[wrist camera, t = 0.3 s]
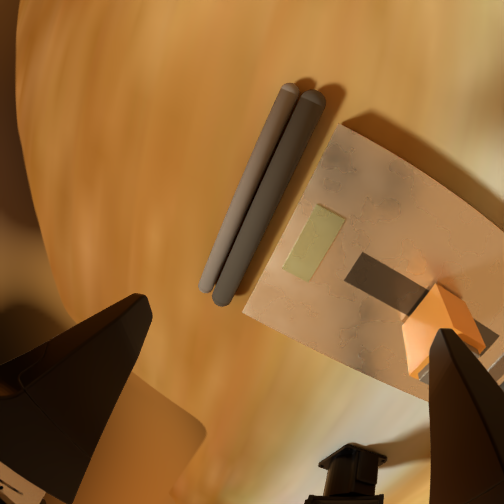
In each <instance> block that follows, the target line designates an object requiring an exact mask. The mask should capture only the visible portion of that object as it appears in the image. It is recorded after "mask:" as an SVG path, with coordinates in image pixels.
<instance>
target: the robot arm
mask: <svg viewBox="0 0 504 504" xmlns="http://www.w3.org/2000/svg"><path fill="white" fill-rule="evenodd" d="M152 317H153V316H152V311H151V308H150V305H149V301H148V298H147V297H146V295H143V294H138V293H134V294H132V295H130V296H128V297H126V298H124V299H123V300H121V301H119V302H117V303H115V304H113V305H112V306H110V307H108V308H106V309H104V310H102V311H101V312H99V313H97V314H95V315H93V316H92V317H90V318H88V319H86V320H84V321H83V322H81V323H79V324H77V325H75V326H74V327H72V328H70V329H68V330H66V331H65V332H63V333H61V334H59V335H57V336H56V337H54V338H52V339H50V340H49V341H47V342H45V343H43V344H42V345H40V346H38V347H36V348H34V349H33V350H31V351H29V352H27V353H25V354H23V355H20V356H19V357H16V358H14V359H12V360H10V361H8V362H6V363H4V364H2V365H0V504H46V502H45V499H43V496H44V494H45V493H46V492H47V493H48V494H50V495H52V496H54V497H55V498H57V499H59V500H61V501H62V502H64V503H66V504H72V503H73V501H74V498H75V496H76V493H77V491H78V488H79V486H80V484H81V481H82V479H83V476H84V474H85V472H86V469H87V467H88V465H89V462H90V460H91V457H92V455H93V453H94V451H95V448H96V446H97V444H98V442H99V439H100V437H101V435H102V433H103V430H104V428H105V426H106V424H107V422H108V419H109V417H110V415H111V413H112V411H113V409H114V407H115V404H116V402H117V400H118V398H119V396H120V394H121V392H122V390H123V388H124V385H125V383H126V381H127V379H128V377H129V375H130V373H131V371H132V369H133V367H134V365H135V363H136V361H137V358H138V356H139V354H140V351H141V348H142V346H143V343H144V340H145V338H146V335H147V332H148V330H149V327H150V324H151V322H152ZM429 415H430V438H431V479H430V501H429V504H504V391H503V390H502V389H501V387H500V386H499V385H498V383H497V382H496V381H495V380H494V378H493V377H492V376H491V374H490V373H489V372H488V371H487V369H486V368H485V367H484V366H483V365H482V363H481V362H480V361H479V360H478V358H477V357H476V356H475V355H474V354H473V352H472V351H471V350H470V349H469V348H468V346H467V345H466V344H465V343H464V342H463V341H462V339H461V338H460V337H459V336H458V335H457V334H456V333H455V331H454V330H453V329H451V328H440V329H439V330H438V331H437V333H436V335H435V338H434V340H433V342H432V344H431V347H430V350H429ZM386 461H387V457H385V456H382V455H378V454H375V453H372V452H369V451H366V450H363V449H360V448H357V447H354V446H351V445H345V446H343V447H342V448H340V449H339V450H338V451H336V452H335V453H333V454H332V455H330V456H329V457H327V458H326V459H324V460H323V461H321V462H319V465H318V466H319V467H320V468H323V469H326V470H328V473H327V478H326V483H325V488H324V493H323V496H314V495H309V497H308V499H307V500H305V503H304V504H383V500H384V494H379V495H375V485H376V484H377V476H378V466H380V465H382V464H383V463H385V462H386Z"/></svg>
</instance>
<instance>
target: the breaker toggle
mask: <svg viewBox="0 0 504 504" xmlns="http://www.w3.org/2000/svg"><path fill="white" fill-rule="evenodd" d="M440 328H451V329H453V330H454V331H455V333H456V334H457V335H458V336H459V337H460V338H461V339H462V341H463V342H464V343H465V344H466V345H467V346H468V348H469V349H470V350H471V351H472V352H473V354H474V355H475V356H476V357H477V358H479V357H480V353H481V352H482V351H483V350H484V349H485V347H486V346H485V343H484V341H483V339H482V337H481V334H480V332H479V330H478V328H477V326H476V323H475V321H474V319H473V317H472V315H471V313H470V311H469V309H468V307H467V305H466V303H465V302H464V301H463V300H461V299H460V298H458V297H457V296H455V295H454V294H452V293H451V292H449V291H447V290H446V289H444V288H443V287H441V286H440V285H438V284H436V283H435V284H434V286H433V287H432V288H431V290H430V291H429V292H428V294H427V295H426V296H425V298H424V299H423V300H422V302H421V303H420V304H419V305H418V307H417V308H416V309H415V310H414V312H413V313H412V314H411V315H410V317H409V318H408V319H407V320H406V322H405V323H404V324H403V325H402V331H403V337H404V344H405V350H406V357H407V364H408V372H409V376H411V377H413V378H415V379H418V380H419V381H421V382H423V383H425V384H428V385H429V350H430V347H431V344H432V342H433V340H434V338H435V335H436V333H437V331H438V330H439V329H440Z"/></svg>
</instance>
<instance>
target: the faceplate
mask: <svg viewBox="0 0 504 504" xmlns="http://www.w3.org/2000/svg"><path fill="white" fill-rule="evenodd" d="M435 283H436V284H438V285H440V286H441V287H443V288H444V289H446V290H447V291H449V292H451V293H452V294H454V295H455V296H457V297H458V298H460V299H461V300H463V301H464V302H465V303H466V305H467V307H468V309H469V311H470V313H471V315H472V317H473V319H474V321H475V323H476V326H477V328H478V330H479V332H480V334H481V337H482V339H483V341H484V343H485V346H486V347H485V349H484V350H483V351H482V352H481V353H480V357H479V358H478V360H479V361H480V362H481V363H482V365H483V366H484V367H485V368H486V369H487V371H488V372H489V373H490V374H491V376H492V377H493V378H494V380H495V381H496V382H497V383H498V385H500V384H501V383H502V382H503V381H504V232H503V231H502V230H501V229H499V228H498V227H497V226H496V225H495V224H493V223H492V222H491V221H490V220H488V219H487V218H486V217H485V216H483V215H482V214H481V213H480V212H478V211H477V210H476V209H474V208H473V207H472V206H471V205H469V204H468V203H467V202H465V201H464V200H463V199H461V198H460V197H458V196H457V195H456V194H454V193H453V192H452V191H450V190H449V189H447V188H446V187H444V186H443V185H442V184H440V183H439V182H437V181H436V180H434V179H433V178H431V177H430V176H428V175H427V174H425V173H424V172H422V171H421V170H419V169H418V168H416V167H415V166H413V165H411V164H410V163H408V162H407V161H405V160H403V159H402V158H400V157H399V156H397V155H395V154H394V153H392V152H390V151H389V150H387V149H385V148H383V147H382V146H380V145H378V144H376V143H375V142H373V141H371V140H369V139H368V138H366V137H364V136H362V135H360V134H358V133H357V132H355V131H353V130H351V129H349V128H347V127H345V126H343V125H341V124H339V123H338V125H337V127H336V129H335V131H334V133H333V135H332V137H331V139H330V142H329V144H328V146H327V148H326V150H325V152H324V154H323V156H322V158H321V160H320V162H319V164H318V166H317V168H316V170H315V172H314V174H313V176H312V178H311V180H310V182H309V184H308V186H307V188H306V190H305V192H304V193H303V195H302V197H301V199H300V201H299V203H298V205H297V207H296V209H295V211H294V213H293V215H292V217H291V219H290V221H289V223H288V225H287V227H286V229H285V231H284V233H283V235H282V237H281V239H280V241H279V242H278V244H277V246H276V248H275V250H274V252H273V254H272V256H271V258H270V260H269V262H268V264H267V266H266V268H265V269H264V271H263V273H262V275H261V277H260V279H259V281H258V283H257V285H256V287H255V289H254V291H253V292H252V294H251V296H250V298H249V300H248V302H247V304H246V306H245V308H244V309H243V311H242V313H244V314H246V315H248V316H250V317H251V318H253V319H255V320H257V321H259V322H261V323H263V324H265V325H267V326H269V327H270V328H272V329H274V330H276V331H278V332H280V333H282V334H284V335H286V336H288V337H290V338H292V339H294V340H296V341H298V342H300V343H302V344H304V345H306V346H308V347H310V348H312V349H314V350H316V351H318V352H320V353H322V354H324V355H326V356H328V357H330V358H332V359H334V360H336V361H339V362H341V363H343V364H345V365H347V366H349V367H351V368H353V369H355V370H358V371H360V372H362V373H364V374H366V375H368V376H371V377H373V378H375V379H377V380H379V381H382V382H384V383H386V384H388V385H391V386H393V387H395V388H397V389H400V390H402V391H404V392H407V393H409V394H411V395H413V396H416V397H418V398H421V399H423V400H425V401H428V402H429V385H428V384H425V383H423V382H421V381H419V380H418V379H415V378H413V377H411V376H409V372H408V364H407V357H406V350H405V344H404V337H403V331H402V325H403V324H404V323H405V322H406V320H407V319H408V318H409V317H410V315H411V314H412V313H413V312H414V310H415V309H416V308H417V307H418V305H419V304H420V303H421V302H422V300H423V299H424V298H425V296H426V295H427V294H428V292H429V291H430V290H431V288H432V287H433V286H434V284H435Z"/></svg>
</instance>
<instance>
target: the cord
mask: <svg viewBox="0 0 504 504" xmlns="http://www.w3.org/2000/svg"><path fill="white" fill-rule="evenodd" d="M298 96H299V88H298V87H297V86H296V85H295V84H293V83H286V84H284V85H283V86H282V87H281V89H280V91H279V94H278V96H277V98H276V100H275V102H274V105H273V107H272V109H271V111H270V114H269V116H268V118H267V120H266V123H265V125H264V127H263V129H262V132H261V134H260V136H259V138H258V141H257V143H256V145H255V148H254V150H253V152H252V154H251V157H250V159H249V161H248V164H247V166H246V168H245V171H244V173H243V176H242V178H241V180H240V183H239V185H238V187H237V190H236V192H235V195H234V197H233V199H232V202H231V204H230V207H229V209H228V211H227V214H226V216H225V219H224V221H223V224H222V226H221V229H220V231H219V233H218V236H217V238H216V241H215V243H214V246H213V248H212V251H211V253H210V256H209V259H208V261H207V264H206V266H205V269H204V271H203V274H202V276H201V279H200V282H199V285H198V286H199V289H200V291H201V292H203V293H209V292H210V291H211V290H212V289H213V287H214V284H215V282H216V280H217V277H218V275H219V273H220V270H221V268H222V266H223V263H224V261H225V259H226V256H227V254H228V252H229V249H230V247H231V245H232V243H233V240H234V238H235V236H236V233H237V231H238V229H239V226H240V224H241V222H242V220H243V217H244V215H245V213H246V211H247V208H248V206H249V204H250V202H251V199H252V197H253V195H254V193H255V190H256V188H257V186H258V184H259V181H260V179H261V177H262V175H263V172H264V170H265V168H266V166H267V164H268V161H269V159H270V157H271V155H272V153H273V150H274V148H275V146H276V144H277V142H278V139H279V137H280V135H281V133H282V131H283V128H284V126H285V124H286V122H287V120H288V118H289V115H290V113H291V111H292V109H293V107H294V105H295V102H296V100H297V98H298ZM325 105H326V100H325V97H324V96H323V94H322V93H320V92H319V91H317V90H308V91H306V92H304V93H303V94H302V96H301V97H300V100H299V102H298V104H297V106H296V108H295V110H294V112H293V115H292V117H291V119H290V121H289V123H288V125H287V128H286V130H285V132H284V134H283V136H282V138H281V141H280V143H279V145H278V147H277V149H276V152H275V154H274V156H273V158H272V160H271V162H270V165H269V167H268V169H267V171H266V174H265V176H264V178H263V180H262V182H261V185H260V187H259V189H258V191H257V193H256V196H255V198H254V200H253V202H252V205H251V207H250V209H249V211H248V214H247V216H246V218H245V220H244V223H243V225H242V227H241V229H240V232H239V234H238V236H237V239H236V241H235V243H234V245H233V248H232V250H231V252H230V254H229V257H228V259H227V261H226V264H225V266H224V268H223V271H222V273H221V275H220V277H219V280H218V282H217V284H216V287H215V289H214V291H213V294H212V299H213V301H214V303H215V304H216V305H218V306H222V307H223V306H227V305H228V304H229V303H230V302H231V300H232V298H233V296H234V294H235V292H236V290H237V288H238V286H239V284H240V282H241V280H242V278H243V276H244V274H245V272H246V269H247V267H248V265H249V263H250V261H251V259H252V257H253V255H254V253H255V251H256V249H257V247H258V245H259V243H260V241H261V239H262V236H263V234H264V232H265V230H266V228H267V226H268V224H269V222H270V220H271V218H272V216H273V214H274V212H275V210H276V208H277V205H278V203H279V201H280V199H281V197H282V195H283V193H284V191H285V189H286V187H287V185H288V183H289V181H290V179H291V176H292V174H293V172H294V170H295V168H296V166H297V164H298V162H299V160H300V158H301V156H302V154H303V152H304V149H305V147H306V145H307V143H308V141H309V139H310V137H311V135H312V133H313V131H314V129H315V127H316V125H317V122H318V120H319V118H320V116H321V114H322V112H323V110H324V108H325Z"/></svg>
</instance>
